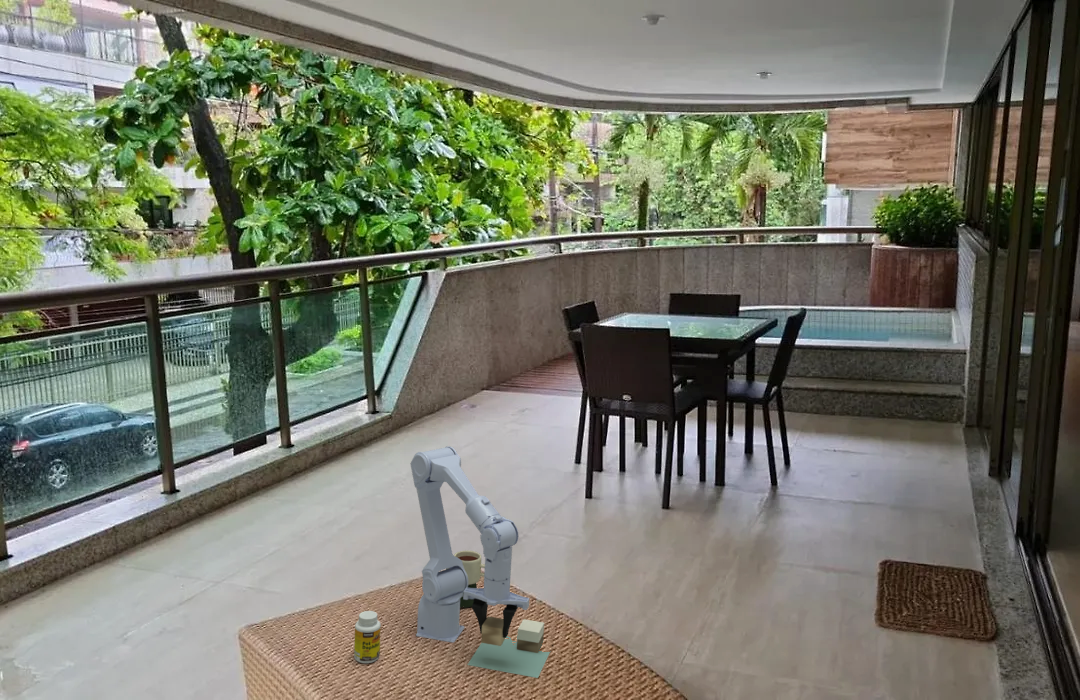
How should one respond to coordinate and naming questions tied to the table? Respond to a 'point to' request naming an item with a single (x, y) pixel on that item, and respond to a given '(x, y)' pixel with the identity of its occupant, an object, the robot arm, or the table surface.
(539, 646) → the walnut block
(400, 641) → the table surface
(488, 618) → the oak block
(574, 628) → the table surface
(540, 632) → the cream block
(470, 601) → the character mug
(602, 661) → the table surface
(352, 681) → the table surface
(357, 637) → the supplement bottle
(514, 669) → the teal board
